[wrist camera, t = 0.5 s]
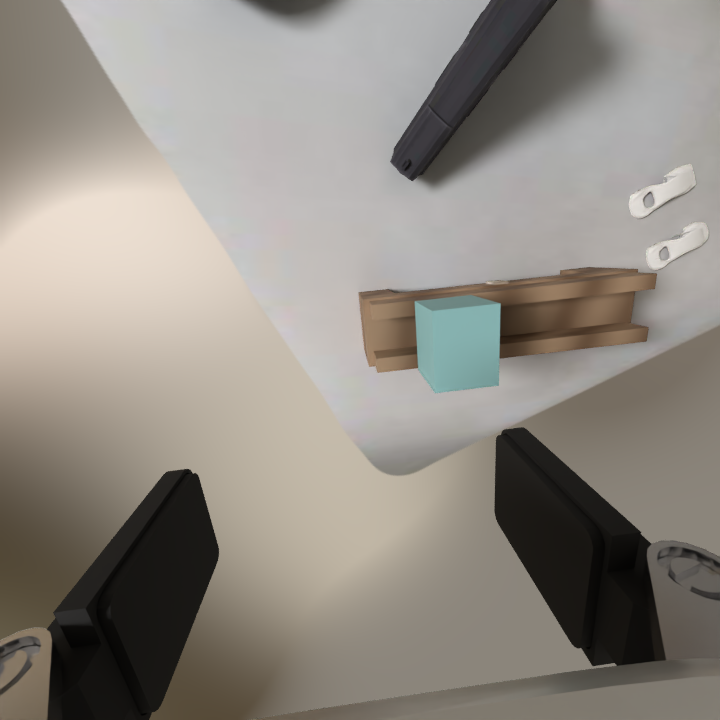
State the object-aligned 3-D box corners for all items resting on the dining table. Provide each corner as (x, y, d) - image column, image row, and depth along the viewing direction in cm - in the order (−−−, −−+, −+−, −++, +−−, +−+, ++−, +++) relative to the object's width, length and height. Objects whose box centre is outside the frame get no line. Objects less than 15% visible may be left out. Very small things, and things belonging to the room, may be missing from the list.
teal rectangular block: (459, 291, 28) (500, 303, 21) (460, 354, 30) (498, 385, 23) (408, 297, 28) (431, 310, 21) (411, 360, 30) (434, 393, 23)
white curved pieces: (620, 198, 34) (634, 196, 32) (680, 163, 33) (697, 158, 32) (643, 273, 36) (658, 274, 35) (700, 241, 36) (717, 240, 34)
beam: (588, 265, 35) (663, 268, 27) (582, 325, 37) (651, 344, 29) (358, 290, 34) (364, 301, 26) (364, 350, 36) (372, 377, 28)
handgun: (581, -43, 25) (612, -66, 17) (434, 151, 37) (413, 190, 29) (550, -83, 24) (567, -125, 17) (410, 128, 36) (381, 162, 28)
